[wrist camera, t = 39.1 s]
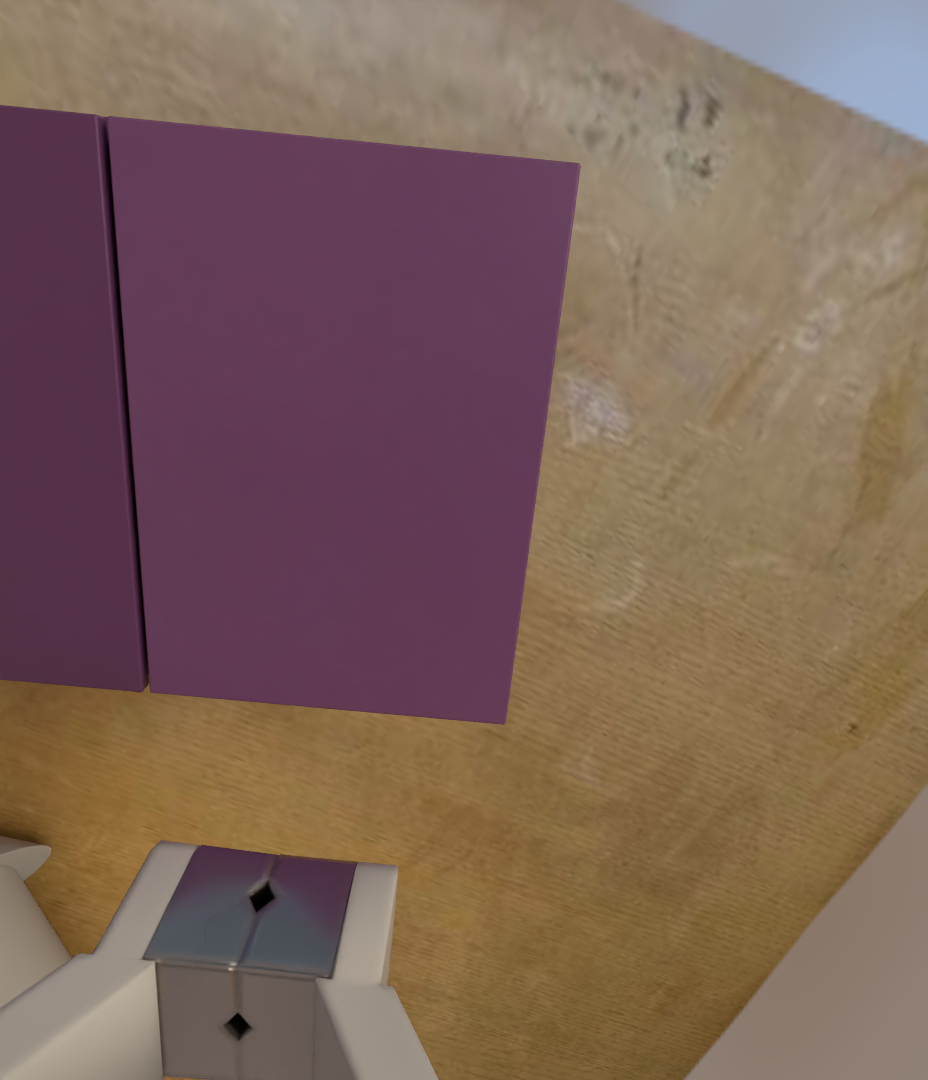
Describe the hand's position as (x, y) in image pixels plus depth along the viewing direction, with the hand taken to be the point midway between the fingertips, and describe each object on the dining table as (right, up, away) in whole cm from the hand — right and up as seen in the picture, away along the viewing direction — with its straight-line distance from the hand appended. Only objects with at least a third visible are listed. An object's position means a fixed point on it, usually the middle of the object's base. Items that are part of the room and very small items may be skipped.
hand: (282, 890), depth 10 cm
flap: (0, +6, +6) cm, 9 cm away
